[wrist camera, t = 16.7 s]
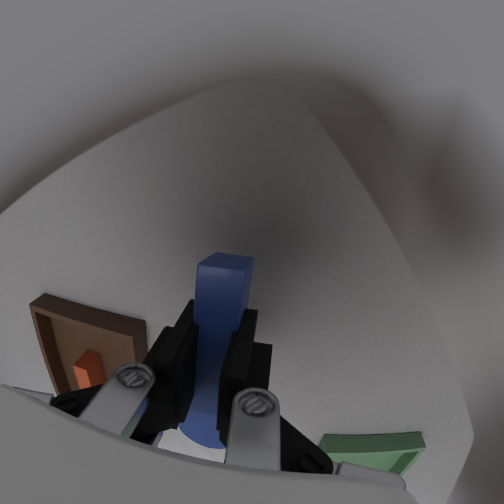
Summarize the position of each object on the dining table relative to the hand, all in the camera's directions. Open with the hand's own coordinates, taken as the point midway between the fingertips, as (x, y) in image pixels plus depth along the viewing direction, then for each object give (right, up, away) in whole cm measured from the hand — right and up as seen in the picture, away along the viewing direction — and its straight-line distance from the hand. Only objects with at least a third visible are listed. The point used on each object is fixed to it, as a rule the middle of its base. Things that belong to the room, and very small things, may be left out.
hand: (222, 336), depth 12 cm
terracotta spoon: (-14, -10, +13) cm, 22 cm away
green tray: (+13, -22, +15) cm, 30 cm away
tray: (-14, -8, +13) cm, 21 cm away
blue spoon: (0, -1, +1) cm, 1 cm away
